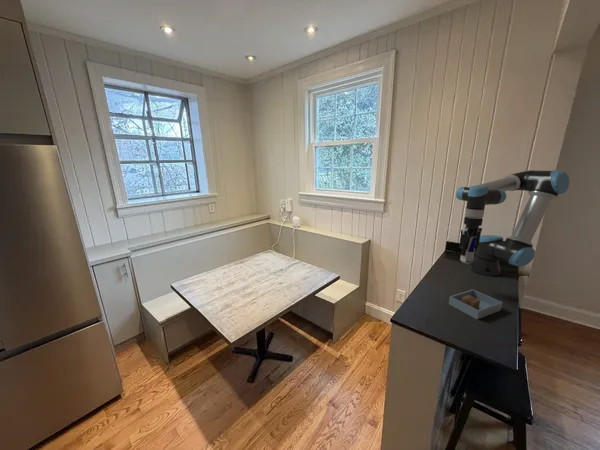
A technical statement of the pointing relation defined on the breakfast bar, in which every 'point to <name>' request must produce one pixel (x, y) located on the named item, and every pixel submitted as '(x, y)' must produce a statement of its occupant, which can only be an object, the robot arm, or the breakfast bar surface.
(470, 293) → the tote
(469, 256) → the beverage can
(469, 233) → the robot arm
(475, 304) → the walnut cube
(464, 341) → the breakfast bar surface
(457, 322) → the breakfast bar surface
